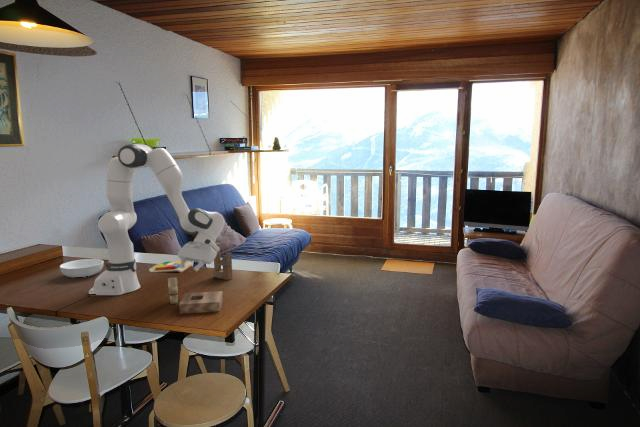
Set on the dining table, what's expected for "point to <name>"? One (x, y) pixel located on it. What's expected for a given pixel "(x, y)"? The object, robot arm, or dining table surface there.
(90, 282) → the dining table surface
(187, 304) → the board
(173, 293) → the peg
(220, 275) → the wooden block
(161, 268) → the wooden puzzle
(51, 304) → the dining table surface
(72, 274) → the serving bowl
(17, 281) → the dining table surface
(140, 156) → the robot arm
